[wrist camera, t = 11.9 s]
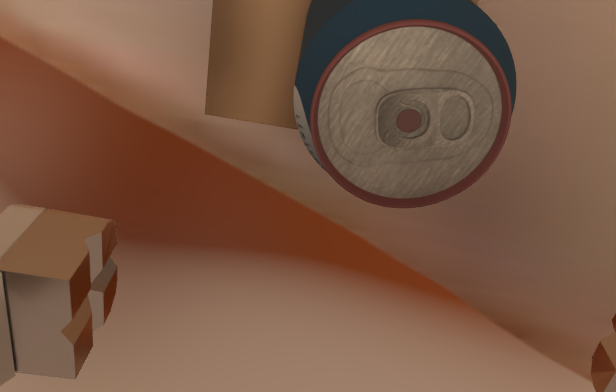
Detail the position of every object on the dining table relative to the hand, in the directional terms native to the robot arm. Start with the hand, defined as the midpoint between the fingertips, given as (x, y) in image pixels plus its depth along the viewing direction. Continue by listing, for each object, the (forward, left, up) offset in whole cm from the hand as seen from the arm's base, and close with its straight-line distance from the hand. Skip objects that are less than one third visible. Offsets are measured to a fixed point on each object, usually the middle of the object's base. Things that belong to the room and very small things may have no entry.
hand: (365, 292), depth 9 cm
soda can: (-2, 0, -20) cm, 20 cm away
